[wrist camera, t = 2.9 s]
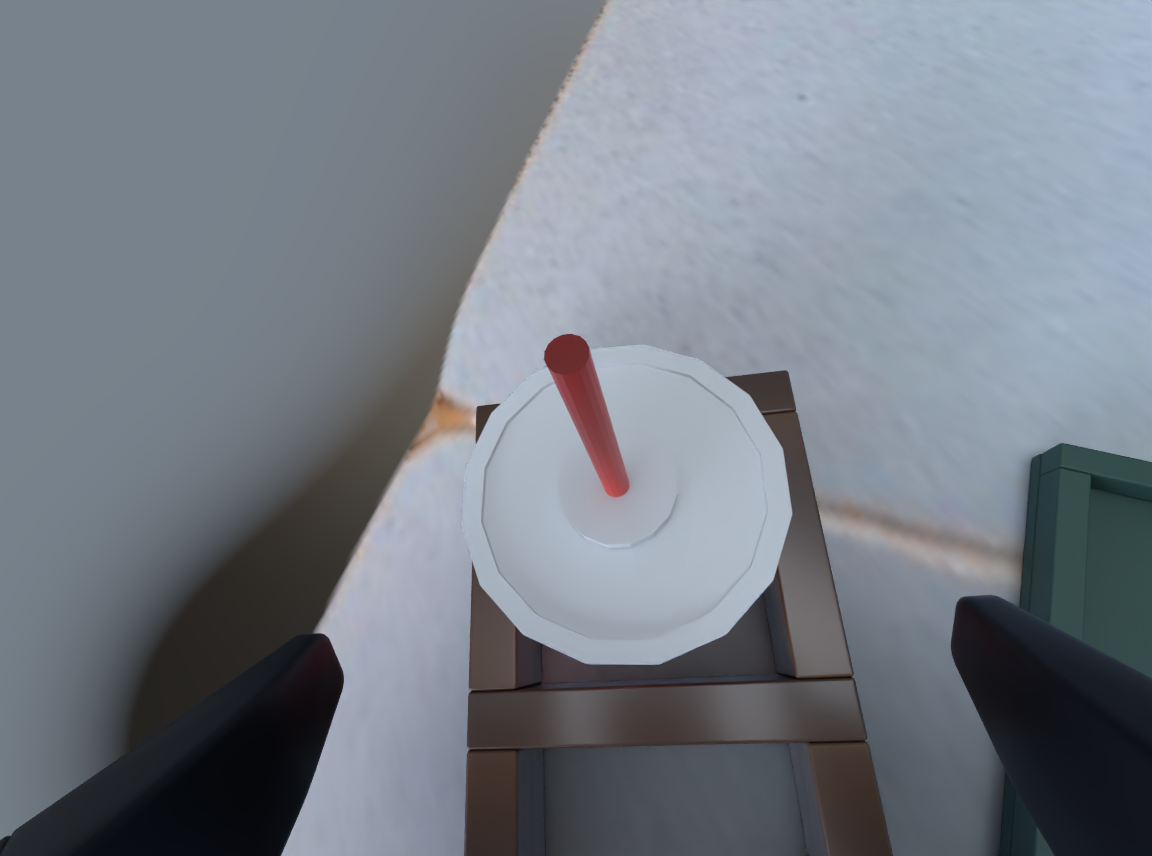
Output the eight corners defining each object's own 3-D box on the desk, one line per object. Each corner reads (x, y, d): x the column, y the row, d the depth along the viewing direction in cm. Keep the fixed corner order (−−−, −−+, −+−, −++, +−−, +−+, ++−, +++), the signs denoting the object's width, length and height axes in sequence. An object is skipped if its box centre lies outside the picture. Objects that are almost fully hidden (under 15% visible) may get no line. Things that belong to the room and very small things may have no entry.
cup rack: (921, 1154, 12) (989, 1295, 10) (496, 1121, 14) (451, 1236, 11) (773, 408, 20) (788, 368, 17) (502, 437, 21) (475, 405, 18)
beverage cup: (709, 454, 19) (768, 71, 7) (766, 637, 17) (1036, 596, 4) (542, 494, 20) (293, 213, 7) (574, 677, 17) (281, 753, 5)
